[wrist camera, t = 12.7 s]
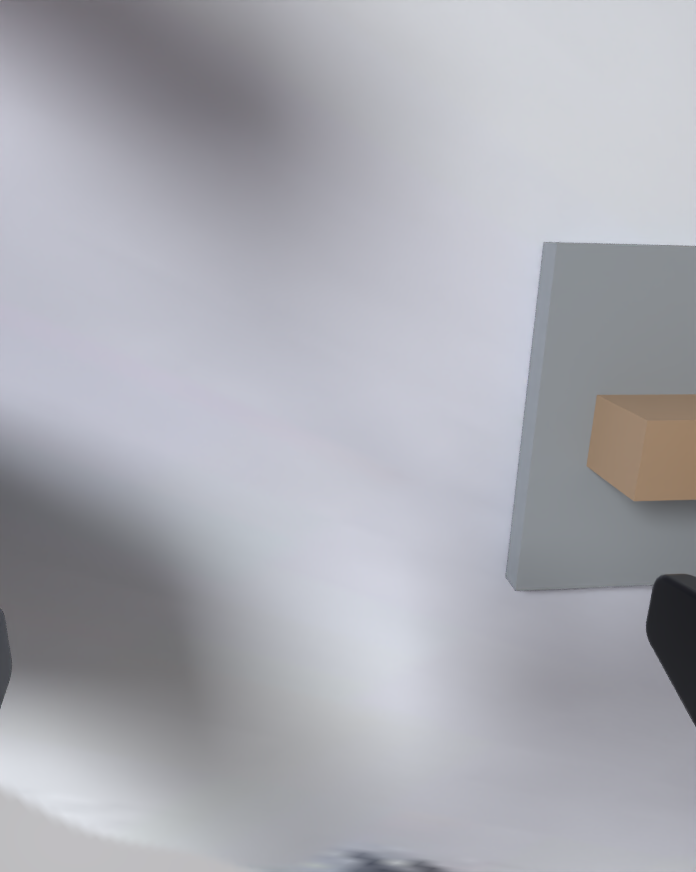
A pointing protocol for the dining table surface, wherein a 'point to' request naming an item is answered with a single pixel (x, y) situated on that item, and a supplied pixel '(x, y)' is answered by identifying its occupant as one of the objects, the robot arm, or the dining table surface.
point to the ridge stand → (608, 420)
